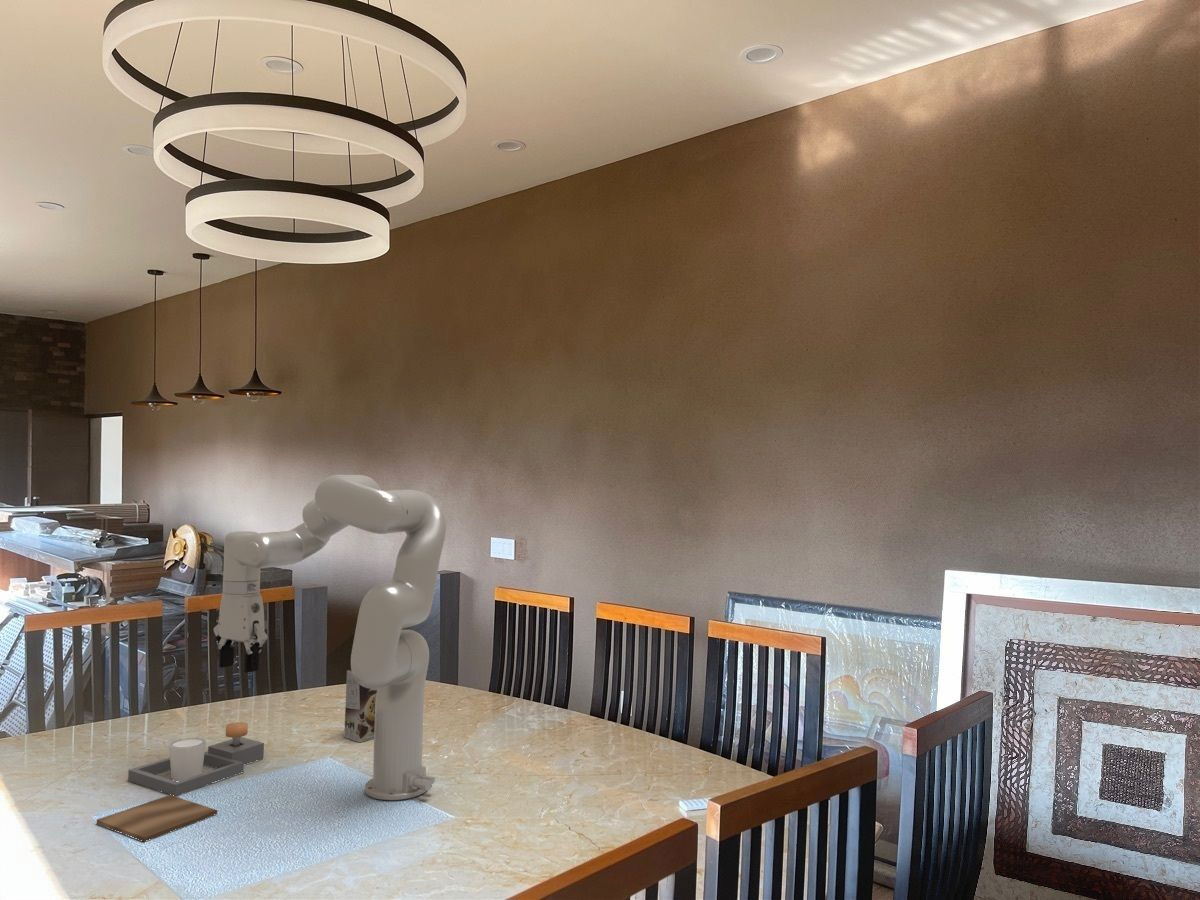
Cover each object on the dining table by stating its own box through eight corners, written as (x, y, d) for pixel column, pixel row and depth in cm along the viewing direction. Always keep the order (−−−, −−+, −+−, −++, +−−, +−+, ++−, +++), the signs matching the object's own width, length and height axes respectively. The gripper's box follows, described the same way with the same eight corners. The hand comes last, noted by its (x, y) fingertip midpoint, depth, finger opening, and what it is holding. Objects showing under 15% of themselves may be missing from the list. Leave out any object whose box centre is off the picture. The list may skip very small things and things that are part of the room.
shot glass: (194, 783, 172) (196, 748, 172) (161, 782, 172) (162, 747, 172) (211, 771, 179) (212, 738, 179) (178, 770, 179) (179, 737, 179)
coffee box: (360, 743, 199) (362, 674, 200) (343, 737, 203) (345, 669, 203) (391, 734, 206) (393, 667, 207) (374, 729, 210) (376, 663, 211)
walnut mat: (217, 814, 157) (217, 810, 157) (144, 842, 144) (144, 837, 144) (169, 798, 164) (170, 794, 164) (96, 824, 151) (96, 819, 151)
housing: (274, 762, 185) (275, 745, 185) (175, 796, 165) (175, 778, 165) (228, 749, 193) (229, 734, 193) (128, 780, 172) (128, 763, 173)
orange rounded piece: (251, 744, 186) (252, 724, 187) (234, 750, 183) (234, 729, 183) (238, 741, 189) (238, 721, 189) (220, 746, 185) (221, 726, 185)
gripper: (282, 589, 185) (280, 671, 185) (230, 583, 194) (227, 660, 194) (253, 593, 179) (250, 677, 178) (200, 586, 188) (198, 667, 187)
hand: (238, 668), depth 186 cm, fingers open, 7 cm apart
